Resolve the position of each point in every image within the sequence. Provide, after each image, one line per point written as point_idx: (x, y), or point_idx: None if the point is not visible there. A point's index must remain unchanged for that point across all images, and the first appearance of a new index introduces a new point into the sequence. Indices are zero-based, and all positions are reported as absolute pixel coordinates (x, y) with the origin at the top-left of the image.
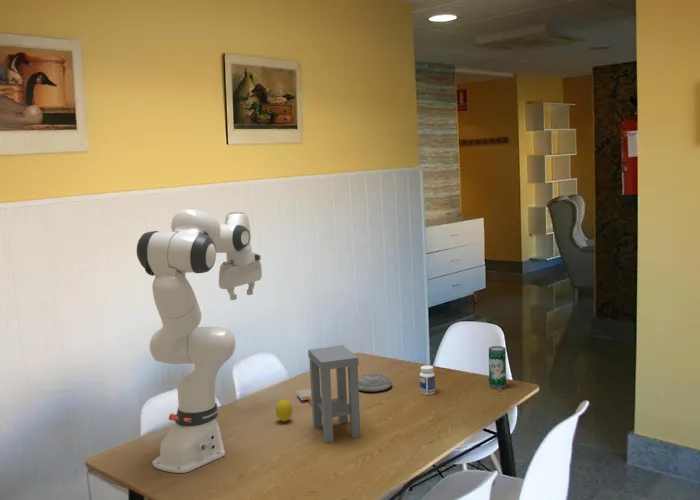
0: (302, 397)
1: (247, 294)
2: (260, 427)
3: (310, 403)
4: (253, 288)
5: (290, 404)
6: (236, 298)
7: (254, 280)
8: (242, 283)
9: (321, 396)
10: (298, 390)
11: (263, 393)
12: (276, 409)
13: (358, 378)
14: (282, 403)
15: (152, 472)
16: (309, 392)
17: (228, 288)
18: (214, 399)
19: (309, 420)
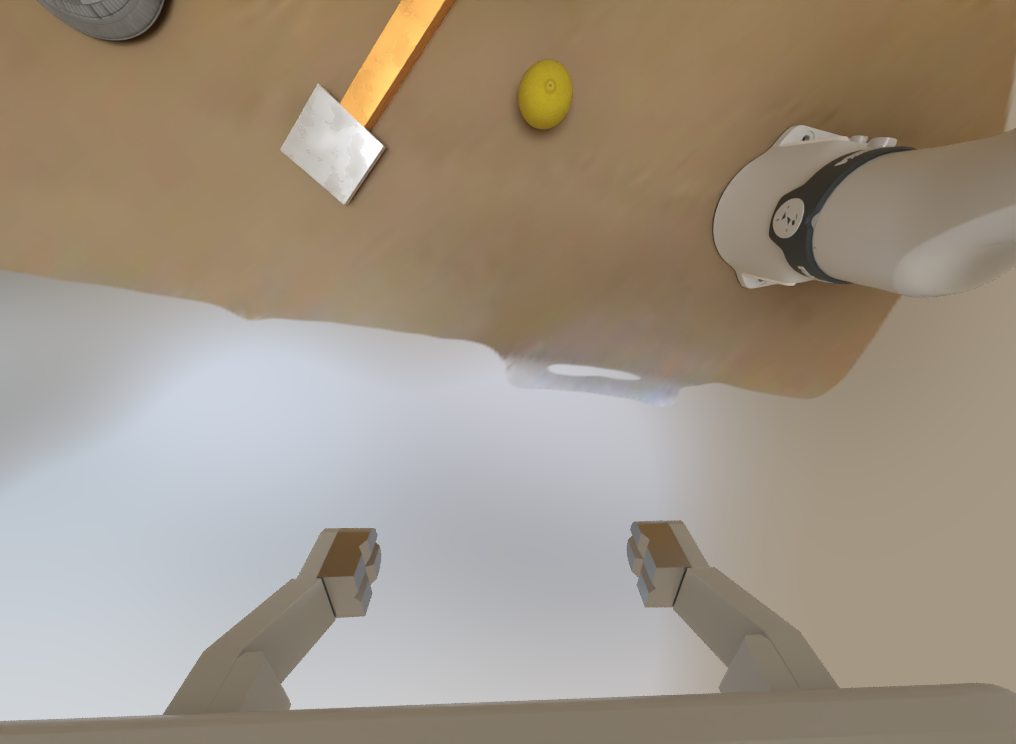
0: (381, 143)
1: (380, 557)
2: (600, 155)
3: (384, 106)
4: (276, 591)
5: (538, 62)
6: (643, 524)
7: (175, 741)
8: (602, 733)
9: (325, 89)
10: (339, 197)
11: (384, 313)
12: (567, 112)
13: (95, 7)
14: (565, 80)
15: None
16: (333, 145)
17: (998, 689)
18: (898, 156)
19: (501, 18)
